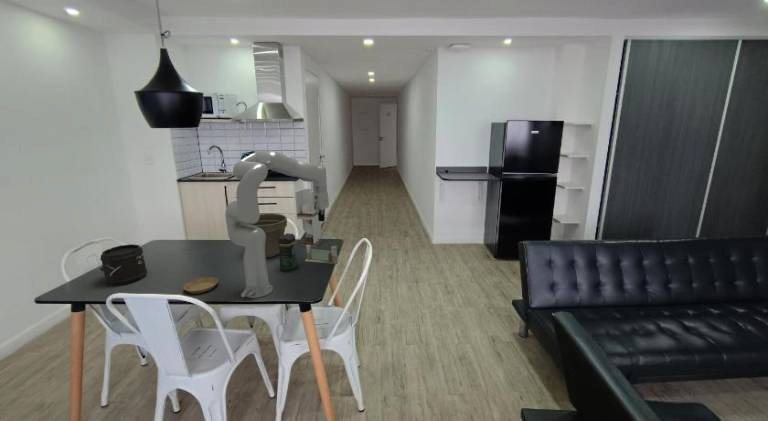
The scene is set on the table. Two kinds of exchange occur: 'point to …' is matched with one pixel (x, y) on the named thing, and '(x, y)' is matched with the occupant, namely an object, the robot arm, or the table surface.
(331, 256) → the gate frame
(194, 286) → the plant saucer
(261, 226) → the plant pot
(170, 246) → the table surface
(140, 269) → the black round bag
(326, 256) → the gate
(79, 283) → the table surface
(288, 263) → the coffee jar
